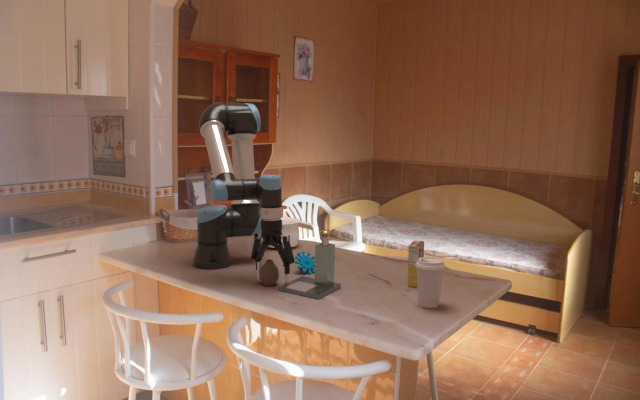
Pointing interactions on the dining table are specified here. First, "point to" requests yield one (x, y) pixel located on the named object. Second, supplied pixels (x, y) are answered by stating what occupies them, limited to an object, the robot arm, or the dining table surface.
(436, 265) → the coffee cup
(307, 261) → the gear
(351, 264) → the dining table surface
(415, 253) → the candy box
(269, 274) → the vase
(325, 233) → the ram pin
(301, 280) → the base
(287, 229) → the pot
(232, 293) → the dining table surface
